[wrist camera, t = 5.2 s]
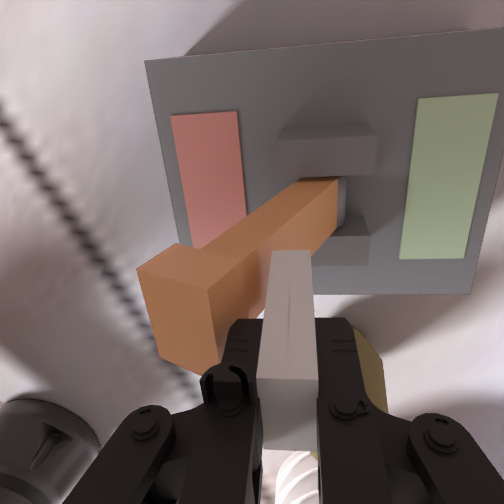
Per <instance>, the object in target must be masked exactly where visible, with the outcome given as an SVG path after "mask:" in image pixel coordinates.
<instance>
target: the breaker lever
mask: <svg viewBox="0 0 504 504" xmlns="http://www.w3.org/2000/svg"><path fill="white" fill-rule="evenodd" d="M346 177H347V176H326V177H303V178H300V179H298V180H297V181H296V182H294V183H293V184H291V185H290V186H289V187H287V188H286V189H284V190H283V191H281V192H280V193H279V194H277V195H276V196H274V197H273V198H272V199H270V200H269V201H267V202H266V203H265V204H263V205H262V206H260V207H259V208H257V209H256V210H255V211H253V212H252V213H250V214H249V215H248V216H246V217H245V218H243V219H242V220H241V221H239V222H238V223H236V224H235V225H234V226H232V227H231V228H229V229H228V230H226V231H225V232H224V233H222V234H221V235H219V236H218V237H217V238H215V239H214V240H212V241H211V242H210V243H208V244H207V245H205V246H204V247H202V248H201V249H198V248H194V247H190V246H185V245H181V244H177V243H176V244H174V245H173V246H171V247H169V248H168V249H166V250H165V251H163V252H162V253H160V254H159V255H157V256H155V257H154V258H152V259H151V260H149V261H148V262H146V263H145V264H143V265H141V266H140V267H138V268H137V269H136V270H137V274H138V277H139V281H140V285H141V289H142V292H143V296H144V300H145V304H146V307H147V311H148V315H149V319H150V322H151V326H152V330H153V334H154V337H155V341H156V345H157V349H158V352H159V356H160V358H162V359H165V360H167V361H169V362H171V363H174V364H176V365H178V366H180V367H183V368H185V369H187V370H189V371H192V372H194V373H196V374H198V375H201V376H202V375H203V374H204V373H205V372H206V371H207V370H208V369H209V368H210V367H212V366H214V365H217V364H219V363H221V360H222V356H223V352H224V348H225V344H226V340H227V335H228V331H229V328H230V327H231V326H232V325H233V323H234V322H235V321H236V320H237V319H256V318H257V317H258V315H259V314H260V313H261V312H262V311H263V310H264V309H265V303H266V295H267V287H268V279H269V271H270V263H271V255H272V251H277V250H310V252H311V256H312V255H313V254H314V253H315V252H316V251H317V249H318V248H319V247H320V246H321V245H322V244H323V243H324V242H325V240H326V239H327V238H328V237H329V236H330V235H331V234H332V233H333V232H334V230H335V229H336V228H338V227H341V226H342V225H343V224H344V223H345V203H346Z"/></svg>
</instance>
